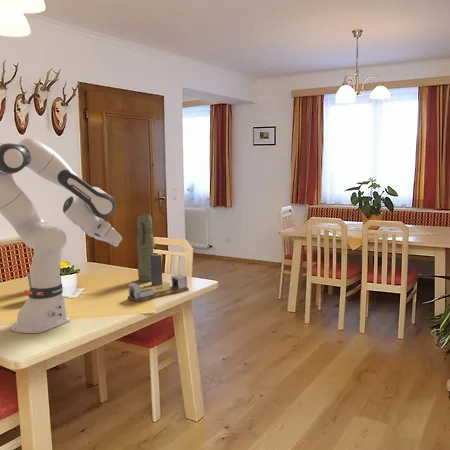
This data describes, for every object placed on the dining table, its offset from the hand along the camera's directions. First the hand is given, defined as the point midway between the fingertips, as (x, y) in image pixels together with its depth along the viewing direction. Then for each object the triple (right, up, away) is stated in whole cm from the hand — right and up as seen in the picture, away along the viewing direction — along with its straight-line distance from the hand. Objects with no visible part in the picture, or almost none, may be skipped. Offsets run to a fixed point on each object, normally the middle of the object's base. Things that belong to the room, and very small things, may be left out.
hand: (116, 245), depth 213 cm
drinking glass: (-37, -26, +9) cm, 46 cm away
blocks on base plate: (+14, -23, +11) cm, 29 cm away
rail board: (+17, -24, +14) cm, 32 cm away
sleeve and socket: (+17, -24, +14) cm, 32 cm away
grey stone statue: (+7, -20, +43) cm, 48 cm away
